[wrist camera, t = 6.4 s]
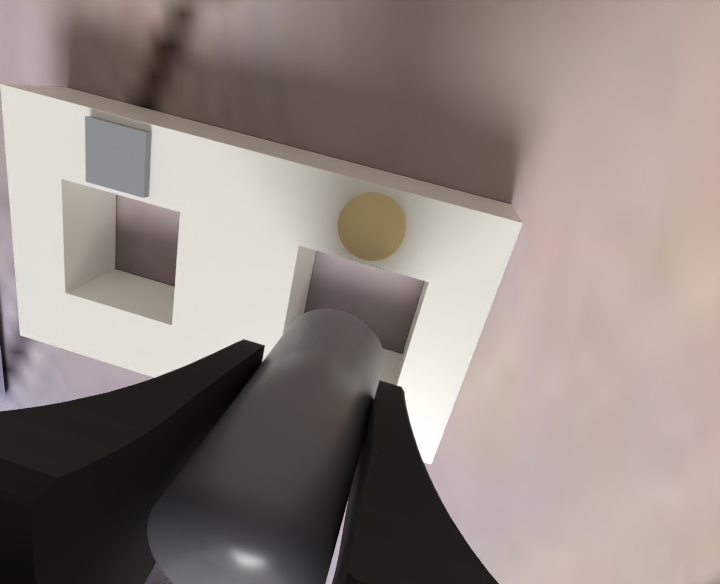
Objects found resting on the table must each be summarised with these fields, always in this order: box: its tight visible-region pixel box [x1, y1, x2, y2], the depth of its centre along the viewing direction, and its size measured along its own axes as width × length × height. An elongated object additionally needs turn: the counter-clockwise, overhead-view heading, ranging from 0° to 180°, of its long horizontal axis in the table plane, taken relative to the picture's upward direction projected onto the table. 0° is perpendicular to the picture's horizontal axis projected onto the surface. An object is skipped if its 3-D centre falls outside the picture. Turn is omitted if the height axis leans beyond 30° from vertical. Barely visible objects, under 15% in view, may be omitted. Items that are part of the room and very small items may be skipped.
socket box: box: [0, 84, 523, 464], centre depth 18 cm, size 18×10×3 cm, turn 77°
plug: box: [147, 308, 384, 584], centre depth 11 cm, size 3×3×7 cm
